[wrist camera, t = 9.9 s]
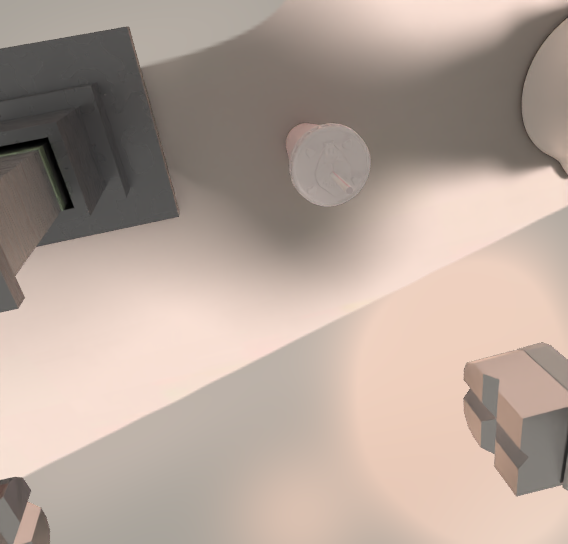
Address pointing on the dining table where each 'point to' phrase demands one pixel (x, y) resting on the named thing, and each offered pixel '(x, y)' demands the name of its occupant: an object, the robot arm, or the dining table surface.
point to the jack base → (89, 129)
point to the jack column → (26, 208)
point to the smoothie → (327, 162)
